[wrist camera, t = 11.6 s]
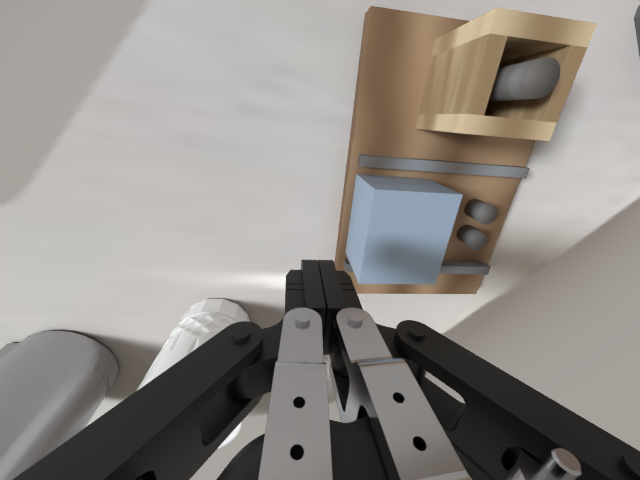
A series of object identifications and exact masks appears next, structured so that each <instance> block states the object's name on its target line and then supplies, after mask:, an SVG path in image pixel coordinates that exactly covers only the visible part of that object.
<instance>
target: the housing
mask: <svg viewBox="0 0 640 480" xmlns="http://www.w3.org/2000/svg"><path fill="white" fill-rule="evenodd" d="M462 196H463V194H461V193H458V192H456V191H454V190H452V189H449V188H447V187H445V186H443V185H441V184H438V183H436V182H434V181H432V180H429V179H427V178H412V177H397V176H382V175H367V174H356V179H355V187H354V194H353V201H352V208H351V216H350V223H349V230H348V237H347V245H346V252H345V253H346V255H347V257H348V260H349V262H350V264H351V267H352V269H353V271H354V274H355V276H356V278H357V281H358V283H359V284H436V281H437V277H438V274H439V271H440V268H441V264H442V261H443V258H444V255H445V251H446V248H447V245H448V242H449V238H450V235H451V232H452V229H453V225H454V222H455V219H456V215H457V212H458V209H459V206H460V202H461V199H462Z"/></svg>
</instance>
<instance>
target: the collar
mask: <svg viewBox="0 0 640 480" xmlns="http://www.w3.org/2000/svg"><path fill="white" fill-rule="evenodd" d="M596 25H597V24H596V23H590V22H584V21H577V20H571V19H565V18H558V17H552V16H546V15H539V14H533V13H527V12H521V11H514V10H508V9H502V8H495V9H493V10H491V11H489V12H487V13H485V14H483V15H482V16H480V17H478V18H476V19H474V20H472V21H470V22H468V23H466V24H464V25H462V26H460V27H458V28H456V29H454V30H452V31H450V32H448V33H446V34H444V35H443V36H441V37H439V38H437V39H435V40H434V45H433V50H432V55H431V59H430V64H429V69H428V74H427V78H426V83H425V88H424V93H423V97H422V102H421V107H420V112H419V117H418V121H417V126H416V129H424V130H433V131H443V132H453V133H462V134H474V135H485V136H496V137H508V138H519V139H530V140H542V141H550V139H551V136H552V134H553V131H554V129H555V126H556V124H557V121H558V119H559V116H560V114H561V111H562V109H563V107H564V104H565V102H566V99H567V97H568V94H569V92H570V89H571V87H572V84H573V82H574V79H575V77H576V74H577V72H578V69H579V67H580V64H581V62H582V60H583V57H584V55H585V52H586V50H587V47H588V45H589V42H590V40H591V37H592V35H593V32H594V30H595V27H596ZM544 57H553V58H555V59H556V60H557V61H558V62H559V65H560V77H559V80H558V83H557V85H556V86H555V88H554V89H553V90H552V91H551V92H550V93H549V94H548V95H546V96H545V97H543V98H539V99H525V100H510V101H495V102H488V101H489V97H490V94H491V91H492V87H493V84H494V81H495V77H496V74H497V71H498V68H500V67H504V66H509V65H513V64H518V63H522V62H527V61H531V60H536V59H540V58H544Z"/></svg>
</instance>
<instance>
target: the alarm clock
mask: <svg viewBox="0 0 640 480" xmlns="http://www.w3.org/2000/svg"><path fill="white" fill-rule="evenodd" d="M634 21H635V28H636V35H637V42H638V48H639V55H640V6H639V7H638V8H637V11H636V14H635V17H634Z"/></svg>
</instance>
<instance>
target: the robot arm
mask: <svg viewBox="0 0 640 480" xmlns="http://www.w3.org/2000/svg"><path fill="white" fill-rule="evenodd" d="M327 354H330V360H331V362H330V370H329V371H330V376H331V381H332V385H333V389H334V393H335V397H336V401H337V405H338V410H339V414H340V418H341V422H337V421H332V420H329V408H328V407H329V406H328V388H327V371H326V363H324V360H323V355H327ZM118 371H119V370H118V364H117V362H116V359H115V357H114V356H113V355H112V353H111V352H110V351H109V350H108V349H107V348H105V347H104V346H103V345H102V344H100V343H98V342H97V341H95V340H93V339H91V338H89V337H86V336H84V335H80V334H77V333H73V332H66V331H46V332H40V333H36V334H34V335H31V336H29V337H27V338H26V339H24V340H23V341H21V342H19V343H9V344H7V345H5V346H4V347H3V348H2V349H1V350H0V480H189V479H190V478H191V477H192V476H193V475H194V474H195V473H196V471H197V470H198V469H199V468H200V467H201V466H202V465H203V464H204V462H206V460H207V459H208V458H209V457H210V456H211V455H212V454H213V453H214V452H215V450H216V449H217V448H218V447H219V446H220V445H221V444H222V443H223V442H224V440H225V439H226V438H227V437H228V436H229V435H230V434H231V433H232V432H233V430H234V429H235V428H236V427H237V426H238V425H239V424H240V423H241V421H242V420H243V419H244V418H245V417H246V416H247V415H248V414H249V413H250V411H251V410H252V409H253V408H254V407H255V406H256V405H257V404H258V403H259V401H260V400H261V398H262V396H263V394H265V393H268V392H271V397H270V403H269V410H268V417H267V424H266V431H265V434H263V435H261V436H259V437H257V438H256V439H254V440H253V441H251V442H250V443H249V444H247V445H246V446H245V447H244V448H243V449H242V450H241V451H240V452H239V453H238V454H237V455H236V456H235V457H234V458H233V459H232V460H231V462H230V463H229V464H228V466H227V467H226V468H225V469H224V471H223V472H222V473H221V475H220V476H219V477H218V478H217V480H640V451H638V450H637V449H635V448H633V447H631V446H630V445H628V444H626V443H625V442H623V441H621V440H620V439H618V438H616V437H615V436H613V435H611V434H609V433H608V432H606V431H604V430H603V429H601V428H599V427H597V426H596V425H594V424H592V423H591V422H589V421H587V420H586V419H584V418H582V417H581V416H579V415H577V414H575V413H574V412H572V411H570V410H569V409H567V408H565V407H564V406H562V405H560V404H559V403H557V402H555V401H553V400H552V399H550V398H548V397H547V396H545V395H543V394H541V393H540V392H538V391H536V390H535V389H533V388H531V387H530V386H528V385H526V384H525V383H523V382H521V381H519V380H518V379H516V378H514V377H513V376H511V375H509V374H508V373H506V372H504V371H503V370H501V369H499V368H497V367H496V366H494V365H492V364H491V363H489V362H487V361H486V360H484V359H482V358H480V357H479V356H477V355H475V354H474V353H472V352H470V351H469V350H467V349H465V348H464V347H462V346H460V345H458V344H457V343H455V342H453V341H452V340H450V339H448V338H447V337H445V336H443V335H441V334H440V333H438V332H436V331H435V330H433V329H431V328H430V327H428V326H426V325H424V324H422V323H420V322H417V321H412V320H406V321H402V322H400V323H399V324H398V325H397V328H396V329H394V328H390V327H385V326H382V325H379V324H376V323H375V322H374V320H373V318H372V317H371V315H370V314H368V313H367V312H366V311H364V310H363V309H362V306H361V304H360V301H359V298H358V296H357V293H356V291H355V287H354V285H353V282H352V279H351V277H350V276H349V275H348V274H347V273H346V272H345V271H339V270H336V267H335V264H334V261H333V260H318V262H317V260H302V262H301V270H290V271H289V273H288V274H287V275H286V294H285V316H284V318H283V319H282V320H281V321H280V322H279V323H278V324H276V325H274V326H272V327H269V328H265V329H261V328H260V326H258V325H257V324H255V323H253V322H248V321H241V322H236V323H233V324H231V325H229V326H227V327H226V328H225V329H223V330H222V331H220V332H219V333H217V334H216V335H215V336H213V337H212V338H210V339H209V340H208V341H206V342H205V343H203V344H202V345H201V346H199V347H198V348H196V349H195V350H194V351H192V352H191V353H189V354H188V355H187V356H185V357H184V358H182V359H181V360H180V361H178V362H177V363H175V364H174V365H173V366H171V367H170V368H168V369H167V370H166V371H164V372H163V373H161V374H160V375H159V376H157V377H156V378H154V379H153V380H152V381H150V382H149V383H147V384H146V385H144V386H143V387H142V388H140V389H139V390H137V391H136V392H135V393H133V394H132V395H130V396H129V397H128V398H126V399H125V400H123V401H122V402H121V403H119V404H118V405H116V406H115V407H114V408H112V409H111V410H109V411H108V412H107V413H105V414H104V415H102V416H101V417H100V418H98V419H97V420H95V421H94V422H93V423H91V424H90V425H88V426H87V427H86V425H87V423H88V422H89V420H90V419H91V417H92V416H93V414H94V413H95V411H96V409H97V408H98V406H99V405H100V403H101V402H102V400H103V399H104V397H105V396H106V395H107V393H108V392H109V389H110V388H111V386H112V385H113V383H114V382H115V380H116V378H117V376H118ZM427 371H428V372H429V373H431V374H432V375H433V376H435V377H436V378H438V379H439V380H440V381H442V382H443V383H445V384H446V385H447V386H449V387H450V388H452V389H454V390H455V391H456V392H457V393H459V394H460V395H461V396H462V398H463V399H464V401H465V404H464V403H461V402H459V401H458V400H456V399H455V398H453V397H452V396H451V395H449V394H448V393H446V392H445V391H444V390H442V389H441V388H439V387H438V386H437V385H435V384H434V383H432V382H431V381H430V380H428V379H427V378H426V377H425V375H426V372H427ZM85 427H86V428H85Z"/></svg>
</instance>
